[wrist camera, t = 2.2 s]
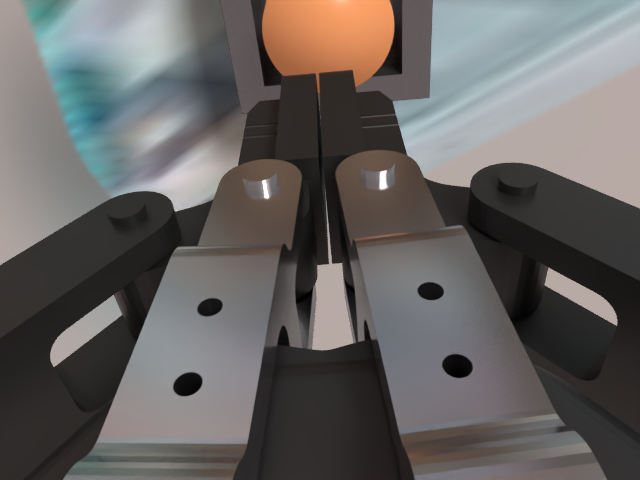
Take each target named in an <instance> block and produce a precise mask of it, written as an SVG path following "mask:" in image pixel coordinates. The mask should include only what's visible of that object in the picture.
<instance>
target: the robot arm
mask: <svg viewBox="0 0 640 480" xmlns="http://www.w3.org/2000/svg"><path fill="white" fill-rule="evenodd" d="M319 89H320V111H319V100H318V89H317V78H316V73H310V74H299V75H288V76H282V80H281V92H280V99H276V100H265V101H259V102H258V103H257V104H256V105H255V106H254V107H253V108H252V109H251V110H250V111H249V112H248V114H247V119H246V125H245V126H246V128H245V130H244V139H243V141H242V147H241V152H240V158H239V163H238V166H237V167H235V168H233V169H231V170H230V171H228V172H227V173H226V174H225V175H224V176H223V178H222V179H221V181H220V183H219V186H218V189H217V192H216V194H215V197H214V200H212V201H209V202H207V203H205V204H201V205H198V206H195V207H191V208H188V209H184V210H180V211H177V212H175V211H174V208H173V204H172V202H171V200H170V199H169V198H168V197H166V196H164V195H163V194H160V193H156V192H149V191H141V192H132V193H127V194H123V195H120V196H117V197H114V198H112V199H110V200H108V201H106V202H104V203H102V204H101V205H99V206H98V207H96V208H94V209H92V210H91V211H89V212H87V213H86V214H84V215H82V216H81V217H79V218H78V219H76V220H74V221H73V222H71V223H69V224H68V225H66V226H64V227H63V228H61V229H59V230H58V231H56V232H54V233H53V234H51V235H50V236H48V237H46V238H45V239H43V240H41V241H40V242H38V243H36V244H35V245H33V246H31V247H30V248H28V249H26V250H25V251H23V252H21V253H20V254H18V255H16V256H15V257H13V258H11V259H10V260H8V261H7V262H5V263H3V264H2V265H0V480H640V209H639V208H637V207H635V206H632V205H630V204H627V203H625V202H623V201H620V200H618V199H615V198H613V197H610V196H608V195H606V194H603V193H601V192H598V191H596V190H594V189H591V188H589V187H586V186H584V185H582V184H579V183H577V182H574V181H572V180H569V179H567V178H564V177H562V176H560V175H557V174H555V173H553V172H550V171H548V170H545V169H542V168H540V167H537V166H533V165H529V164H523V163H501V164H495V165H491V166H488V167H485V168H483V169H481V170H480V171H478V172H477V173H476V174H475V175H474V176H473V178H472V180H471V184H470V188H469V187H460V186H451V185H445V184H440V183H436V182H433V181H430V180H428V179H426V178H424V177H423V175H422V172H421V170H420V168H419V166H418V164H417V163H416V162H415V161H414V160H413V159H412V158H410V157H409V156H407V153H406V150H405V146H404V142H403V139H402V135H401V131H400V128H399V125H398V121H397V117H396V115H395V110H394V106H393V102H392V100H391V99H389V98H388V97H387V96H386V95H384V94H383V93H382V92H380V91H368V92H356V87H355V81H354V75H353V70H343V71H332V72H321V73H319ZM320 112H321V122H320ZM325 190H326V194H325ZM326 201H327V212H328V223H329V233H330V244H331V255H332V263H342V266H343V277H344V290H345V299H346V305H347V310H348V316H349V321H350V326H351V332H352V337H353V344H350V345H346V346H343V347H339V348H336V349H332V350H324V351H321V350H312V343H313V332H314V319H315V308H316V288H315V283H316V280H317V265H323V264H329V259H328V239H327V238H328V237H327V216H326ZM548 267H549V268H551V269H553V270H554V271H556V272H558V273H560V274H562V275H564V276H566V277H567V278H569V279H571V280H573V281H575V282H577V283H579V284H581V285H582V286H584V287H586V288H588V289H590V290H592V291H594V292H595V293H597V294H599V295H601V296H602V297H603V298H604V299H606V300H607V301H608V302H609V303H610V305H611V306H612V307H613V309H614V311H615V313H616V315H617V319H618V324H617V326H616V325H614V324H612V323H610V322H608V321H607V320H605V319H603V318H601V317H600V316H598V315H596V314H594V313H593V312H591V311H589V310H587V309H585V308H584V307H582V306H580V305H578V304H577V303H575V302H573V301H571V300H569V299H568V298H566V297H564V296H562V295H560V294H559V293H557V292H555V291H553V290H551V289H550V288H548V287H546V286H545V285H544V284H545V279H546V275H547V271H548ZM112 295H114V296H115V298H116V301H117V303H118V305H119V308H120V310H121V312H122V316H120V317H119V318H118V319H117V320H116V321H114V322H113V323H111V324H110V325H109V326H108V327H106V328H105V329H104V330H102V331H101V332H100V333H98V334H97V335H96V336H94V337H93V338H92V339H91V340H89V341H88V342H87V343H85V344H84V345H83V346H81V347H80V348H79V349H78V350H76V351H75V352H74V353H72V354H71V355H70V356H68V357H67V358H66V359H64V360H63V361H62V362H61V363H59V364H58V365H57V366H55V367H53V365H52V363H51V361H50V351H51V348H52V345H53V344H54V342H55V340H56V339H57V337H58V336H59V335H60V334H61V333H62V332H63V331H65V330H66V329H67V328H68V327H70V326H71V325H73V324H74V323H75V322H76V321H78V320H79V319H80V318H82V317H84V316H85V315H86V314H88V313H89V312H90V311H92V310H93V309H95V308H96V307H97V306H99V305H100V304H101V303H103V302H104V301H105V300H107V299H108V298H109V297H111V296H112Z"/></svg>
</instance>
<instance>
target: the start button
mask: <svg viewBox="0 0 640 480" xmlns="http://www.w3.org/2000/svg"><path fill="white" fill-rule="evenodd" d="M262 33H263V40H264V45H265V48H266V51H267V53H268V55H269V57H270V59H271V61H272V63H273V64H274V66H275V67H276V69H277V70H278V71H279V72H280V73H281V74H282V75H283V76H288V75H299V74H310V73H316V78H317V89H318V93H320V89H319V73H321V72H332V71H343V70H353V75H354V81H355V87H357V86H359V85H360V84H362V83H364V82H365V81H366V80H368V79H369V78H370V77H371V76H373V75H374V74H375V73H376V72H377V70H378V69H379V68H380V67H381V66H382V64H383V62H384V61H385V59H386V57H387V55H388V53H389V51H390V48H391V45H392V41H393V36H394V15H393V10H392V6H391V3H390V0H266V5H265V9H264V14H263V20H262Z"/></svg>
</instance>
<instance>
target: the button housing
mask: <svg viewBox="0 0 640 480" xmlns="http://www.w3.org/2000/svg"><path fill="white" fill-rule="evenodd" d="M220 2H221V8H222V13H223V18H224V23H225V28H226V33H227V39H228V44H229V49H230V54H231V59H232V64H233V70H234V75H235V80H236V85H237V90H238V95H239V101H240V106H241V111H242V114H247V113H248V112H249V111H250V110H251V109H252V108H253V107H254V106H255V105H256V104H257V103H258V102H259V101H265V100H276V99H280V92H281V80H282V76H283V75H282V74H281V73H280V72H279V71H278V70H277V69H276V67H275V66H274V64H273V63H272V61H271V59H270V57H269V55H268V53H267V51H266V48H265V45H264V40H263V33H262V20H263V14H264V9H265V5H266V0H220ZM390 3H391V6H392V10H393V15H394V36H393V41H392V45H391V48H390V51H389V53H388V55H387V57H386V59H385V61H384V62H383V64H382V66H381V67H380V68H379V69H378V70H377V72H376V73H375V74H374V75H373V76H371V77H370V78H369V79H368V80H366V81H365V82H364V83H362V84H360V85H359V86H357V87H356V92H368V91H380V92H382V93H383V94H384V95H386V96H387V97H388V98H389V99H391V100H392V101H398V100H409V99H421V98H429V93H430V64H431V35H432V6H433V0H390ZM318 100H319V107H320V93H318Z"/></svg>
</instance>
